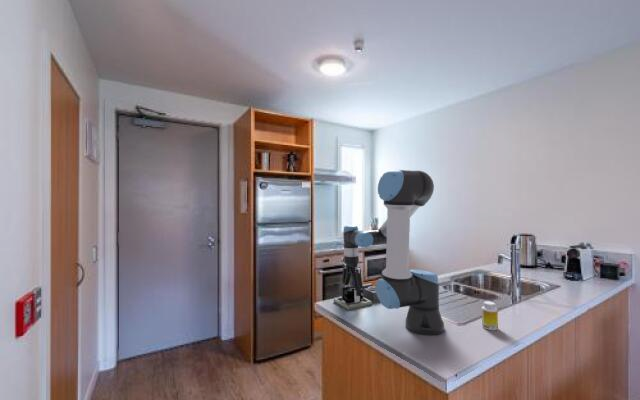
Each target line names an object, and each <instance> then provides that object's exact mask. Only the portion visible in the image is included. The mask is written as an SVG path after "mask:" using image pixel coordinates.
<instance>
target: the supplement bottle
mask: <svg viewBox="0 0 640 400" xmlns="http://www.w3.org/2000/svg"><path fill="white" fill-rule="evenodd" d="M481 324H482V328H484V329H486V330H487V331H497V330H498V329H499V318H498V308H497V307H496V303H495V302H493V301H487V300H486V301H484V302H483V306H481Z"/></svg>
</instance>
